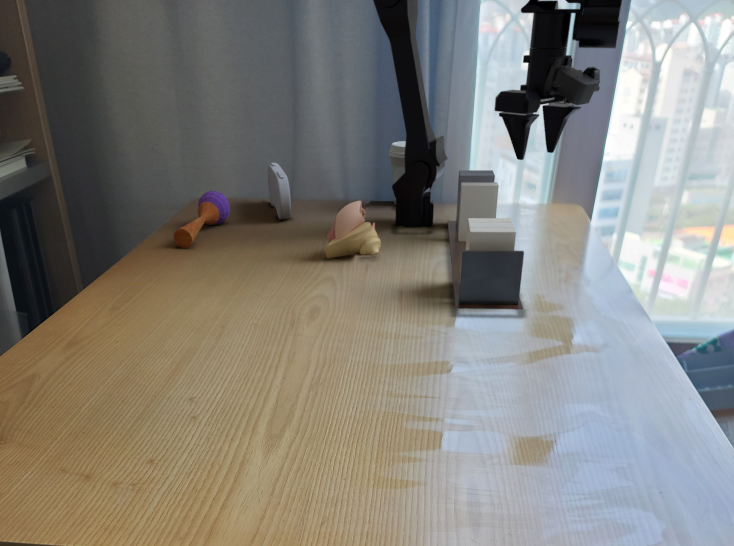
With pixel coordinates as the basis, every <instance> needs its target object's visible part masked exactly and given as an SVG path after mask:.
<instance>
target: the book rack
mask: <svg viewBox="0 0 734 546" xmlns="http://www.w3.org/2000/svg"><path fill="white" fill-rule="evenodd" d="M447 227H448V230H447V231H448V241H449V250H450V251H449V252H450V261H451V273H452V285H453V286H452V287H453V298H454V307H455V309H461V310H464V309H467V310H524V306H523V304H522V301H521V297H520V294H521V284H522V277H523V275H522V274H523V266H524V257H525V251H524V250H514V251H497V250H466V242H459V241H458V229H457V226H456V220H447Z"/></svg>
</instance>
